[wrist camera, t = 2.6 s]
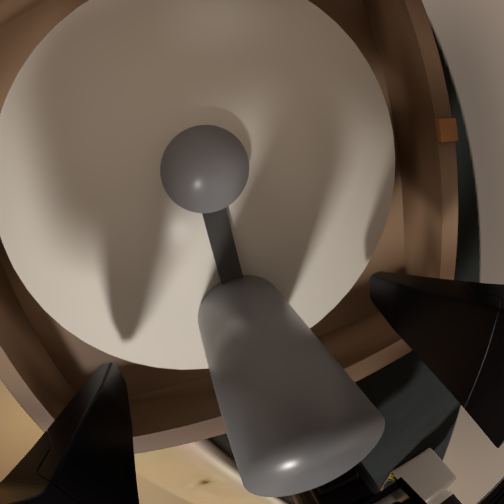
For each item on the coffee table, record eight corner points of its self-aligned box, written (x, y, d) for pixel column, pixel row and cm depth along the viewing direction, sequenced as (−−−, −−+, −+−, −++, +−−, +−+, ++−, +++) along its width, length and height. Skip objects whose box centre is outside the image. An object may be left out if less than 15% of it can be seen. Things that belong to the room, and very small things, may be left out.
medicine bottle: (389, 471, 27) (435, 531, 16) (430, 445, 28) (476, 497, 17) (378, 490, 29) (416, 543, 18) (415, 468, 31) (454, 515, 20)
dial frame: (406, 300, 16) (449, 329, 12) (80, 410, 12) (72, 463, 9) (350, -38, 9) (392, -67, 5) (-41, 49, 5) (-83, 32, 2)
